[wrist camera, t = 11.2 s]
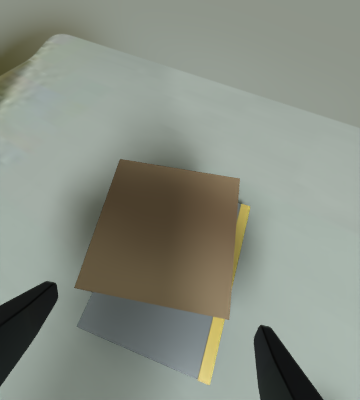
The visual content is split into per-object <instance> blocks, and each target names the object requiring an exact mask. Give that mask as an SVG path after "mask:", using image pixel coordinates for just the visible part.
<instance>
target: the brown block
mask: <svg viewBox="0 0 360 400" xmlns="http://www.w3.org/2000/svg"><path fill="white" fill-rule="evenodd" d="M239 182H240V179H239V178H232V177H226V176H220V175H214V174H208V173H202V172H196V171H190V170H184V169H178V168H171V167H165V166H159V165H153V164H147V163H141V162H135V161H129V160H123V159H120V161H119V163H118V166H117V169H116V172H115V175H114V177H113V180H112V183H111V186H110V189H109V192H108V194H107V197H106V200H105V203H104V206H103V208H102V211H101V214H100V217H99V220H98V222H97V225H96V228H95V231H94V234H93V237H92V239H91V242H90V245H89V248H88V251H87V253H86V256H85V259H84V262H83V265H82V268H81V270H80V273H79V276H78V279H77V282H76V284H75V287H74V288H77V289H82V290H86V291H91V292H96V293H101V294H106V295H111V296H115V297H120V298H125V299H130V300H135V301H140V302H145V303H149V304H154V305H159V306H164V307H169V308H174V309H178V310H183V311H188V312H193V313H198V314H203V315H207V316H212V317H217V318H222V319H227V320H229V316H230V302H231V289H232V276H233V262H234V249H235V236H236V222H237V209H238V195H239Z"/></svg>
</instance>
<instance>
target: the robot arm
mask: <svg viewBox="0 0 360 400" xmlns="http://www.w3.org/2000/svg"><path fill="white" fill-rule="evenodd" d="M57 299H58V291H57V285H56V283H54V282H50V281H46V282H43V283H42V284H40V285H38V286H36V287H34V288H32V289H30V290H28V291H27V292H25V293H23V294H21V295H19V296H17V297H15V298H13V299H12V300H10V301H8V302H6V303H4V304H2V305H0V386H1V385H2V383H3V382H4V381H5V379H6V378H7V376H8V375H9V374H10V372H11V371H12V369H13V368H14V367H15V365H16V364H17V362H18V361H19V360H20V358H21V357H22V355H23V354H24V352H25V351H26V350H27V348H28V347H29V345H30V344H31V343H32V341H33V340H34V338H35V337H36V335H37V333H38V332H39V330H40V328H41V327H42V325H43V323H44V322H45V320H46V318H47V317H48V315H49V313H50V312H51V310H52V308H53V307H54V305H55V303H56V301H57ZM254 349H255V359H256V369H257V380H258V388H259V394H260V400H323V398H322V397H321V396H320V394H319V393H318V391H317V390H316V389H315V387H314V386H313V385H312V383H311V382H310V380H309V379H308V378H307V376H306V375H305V374H304V372H303V371H302V369H301V368H300V367H299V365H298V364H297V363H296V361H295V360H294V358H293V357H292V356H291V354H290V353H289V352H288V350H287V349H286V348H285V346H284V345H283V343H282V342H281V341H280V339H279V338H278V337H277V335H276V334H275V332H274V331H273V330H272V328H270V327H269V326H264V325H260V326H259V328H258V330H257V332H256V334H255V337H254Z"/></svg>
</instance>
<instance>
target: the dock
mask: <svg viewBox="0 0 360 400" xmlns="http://www.w3.org/2000/svg"><path fill="white" fill-rule="evenodd" d="M249 211H250V206H247V205H244V204H239V203H238V209H237V222H236V236H235V249H234V262H233V276H232V286H233V281H234V277H235V272H236V268H237V264H238V259H239V255H240V250H241V246H242V242H243V237H244V233H245V228H246V224H247V220H248V215H249ZM231 290H232V289H231ZM224 321H225V319H222V318H217V317H212V316H207V315H203V314H198V313H193V312H188V311H183V310H178V309H174V308H169V307H164V306H159V305H154V304H149V303H145V302H140V301H135V300H130V299H125V298H120V297H115V296H111V295H106V294H101V293H96V292H93V293H92V295H91V297H90V299H89V301H88V303H87V305H86V308H85V310H84V312H83V314H82V316H81V318H80V320H79V322H78V324H77V327H78V328H81V329H83V330H85V331H88V332H90V333H92V334H94V335H97V336H99V337H101V338H104V339H106V340H108V341H110V342H113V343H115V344H117V345H120V346H122V347H124V348H126V349H129V350H131V351H133V352H136V353H138V354H140V355H142V356H145V357H147V358H149V359H152V360H154V361H156V362H158V363H161V364H163V365H165V366H167V367H170V368H172V369H174V370H177V371H179V372H181V373H183V374H186V375H188V376H190V377H193V378H195V379H197V380H198V381H201V382H203V383H205V384H207V385H210V382H211V378H212V373H213V369H214V365H215V360H216V356H217V351H218V347H219V343H220V338H221V334H222V329H223V325H224Z"/></svg>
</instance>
